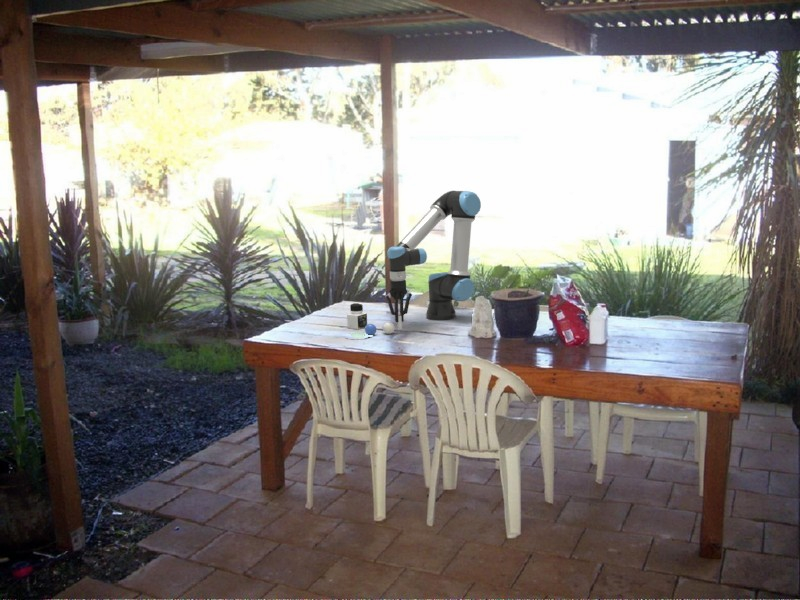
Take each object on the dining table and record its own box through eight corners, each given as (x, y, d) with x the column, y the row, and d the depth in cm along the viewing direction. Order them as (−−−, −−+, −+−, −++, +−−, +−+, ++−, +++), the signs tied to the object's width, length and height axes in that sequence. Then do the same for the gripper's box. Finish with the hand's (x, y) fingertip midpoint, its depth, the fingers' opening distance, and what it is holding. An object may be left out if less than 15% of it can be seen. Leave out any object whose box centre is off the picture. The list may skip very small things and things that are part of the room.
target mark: (370, 331, 392) (370, 331, 392) (376, 338, 378) (376, 337, 378) (341, 334, 389) (341, 334, 389) (346, 340, 375) (346, 340, 375)
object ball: (376, 325, 388) (366, 321, 386) (379, 327, 382) (368, 323, 381) (372, 335, 388) (361, 331, 386) (374, 338, 383) (364, 334, 381)
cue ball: (382, 320, 387) (380, 331, 388) (386, 322, 382) (383, 334, 383) (393, 322, 389) (391, 333, 390) (397, 324, 384) (394, 336, 385)
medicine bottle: (358, 329, 397) (357, 305, 395) (347, 328, 402) (346, 304, 400) (367, 326, 403) (366, 303, 401) (356, 325, 407) (355, 301, 405)
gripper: (386, 282, 378) (388, 331, 383) (413, 279, 381) (414, 329, 385) (382, 279, 385) (384, 328, 390) (409, 277, 388) (411, 325, 393)
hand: (399, 328), depth 388 cm, fingers closed
